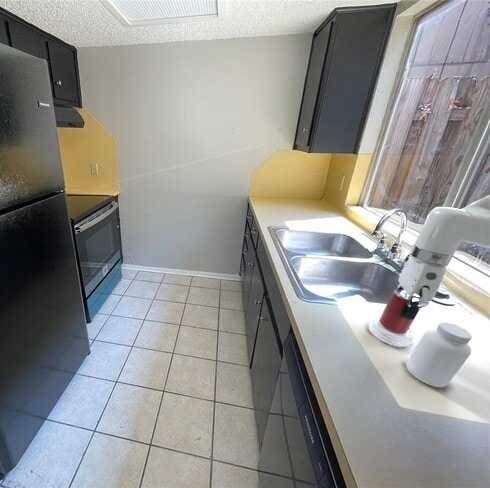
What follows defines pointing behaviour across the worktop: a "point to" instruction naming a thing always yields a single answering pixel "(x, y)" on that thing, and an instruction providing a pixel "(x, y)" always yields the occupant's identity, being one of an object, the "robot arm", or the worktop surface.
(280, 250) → the worktop surface
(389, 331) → the coaster
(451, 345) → the pill bottle
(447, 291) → the worktop surface
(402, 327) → the can
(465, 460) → the worktop surface
